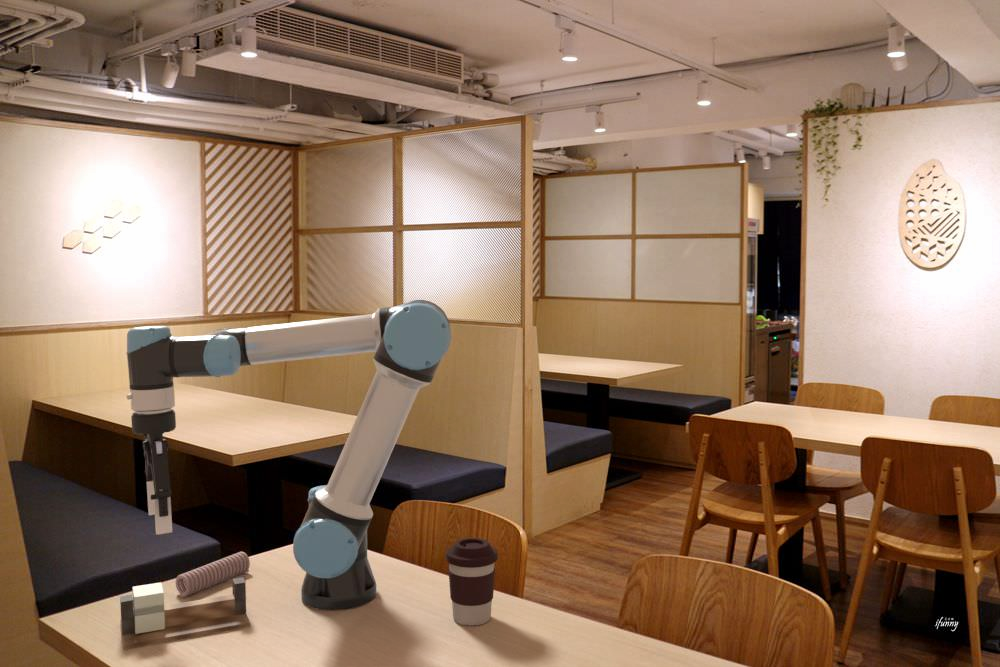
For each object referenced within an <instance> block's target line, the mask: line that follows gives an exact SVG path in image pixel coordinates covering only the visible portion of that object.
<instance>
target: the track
mask: <svg viewBox="0 0 1000 667" xmlns="http://www.w3.org/2000/svg"><path fill="white" fill-rule="evenodd" d="M231 579H232V581H231V584H232V594H227V595H221V596H214V597H208V598H203V599H196V600H191V601H185V602H178V603H173V604H172V603H171V604H166V605H165V604H164V615H165V629H162V630H156V631H150V632H145V633H139V634H135V614H134V611H133V594H128V595H121V596H119V599H120V601H119V603H120V622H119V624H120V632H121V640H122V649H123V650H127V649H134V648H139V647H145V646H149V645H156V644H161V643H165V642H166V643H167V642H171V641H178V640H183V639H189V638H194V637H200V636H204V635H212V634H215V633H217V634H218V633H223V632H227V631H233V630H238V629H244V628H250V627H251V620H250V618H249V617H248V614H247V592H246V591H247V588H246V587H247V585H246V581H245V579H244V576H243V577H236V578H235V577H234V578H231Z"/></svg>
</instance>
